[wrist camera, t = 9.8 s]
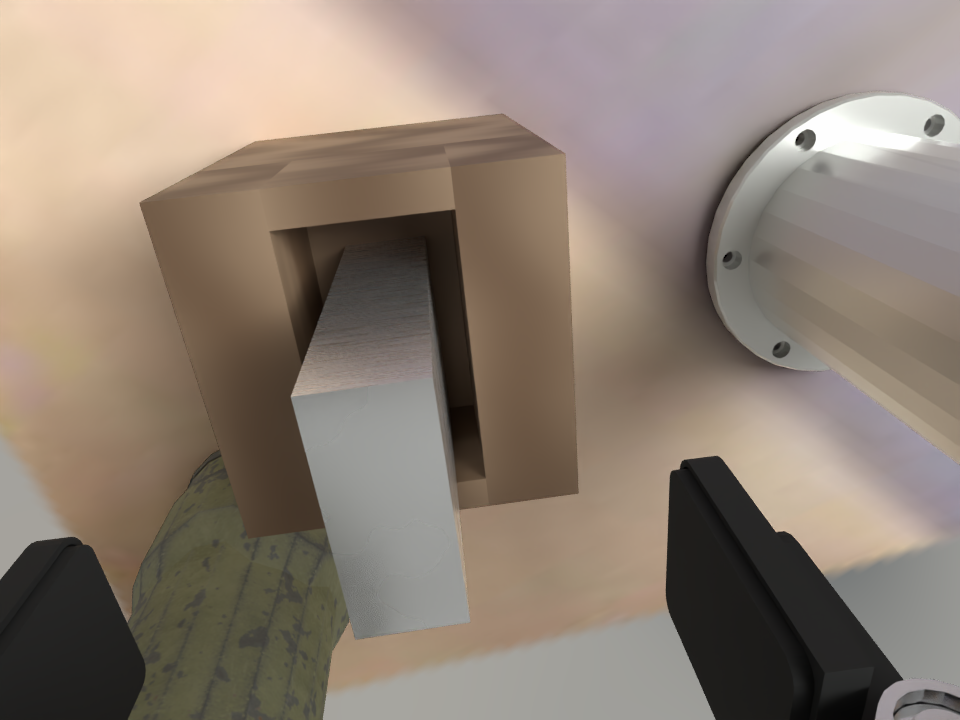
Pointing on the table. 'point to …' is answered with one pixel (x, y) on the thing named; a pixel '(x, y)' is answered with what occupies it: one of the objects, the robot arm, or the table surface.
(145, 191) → the table surface
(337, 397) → the white block
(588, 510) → the table surface
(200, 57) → the table surface
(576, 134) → the table surface
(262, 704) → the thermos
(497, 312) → the slotted wooden block
